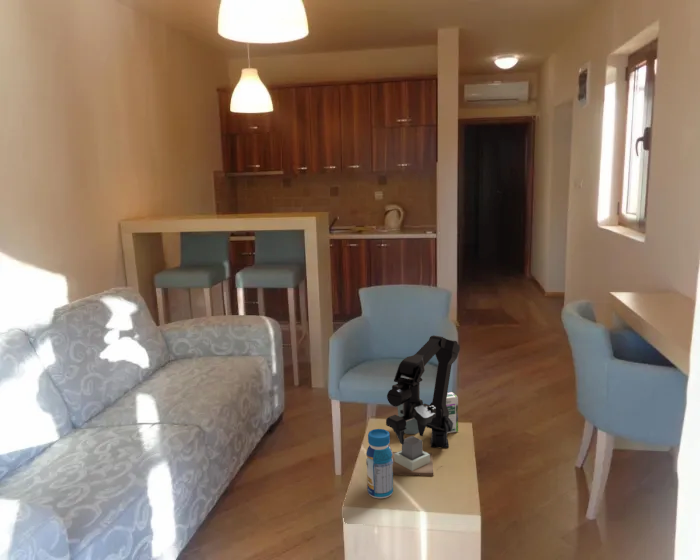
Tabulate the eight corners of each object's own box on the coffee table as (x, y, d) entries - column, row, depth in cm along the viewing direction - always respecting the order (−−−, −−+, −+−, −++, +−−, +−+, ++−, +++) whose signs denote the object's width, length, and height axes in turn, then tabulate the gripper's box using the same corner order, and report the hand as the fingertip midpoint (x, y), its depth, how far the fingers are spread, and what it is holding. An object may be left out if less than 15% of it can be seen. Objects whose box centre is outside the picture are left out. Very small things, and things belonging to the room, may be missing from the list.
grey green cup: (414, 437, 215) (413, 407, 213) (392, 430, 221) (391, 402, 219) (427, 427, 223) (427, 399, 221) (405, 421, 229) (405, 393, 227)
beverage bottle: (385, 502, 172) (384, 441, 169) (362, 495, 177) (360, 435, 173) (398, 489, 179) (397, 430, 176) (375, 482, 184) (373, 425, 180)
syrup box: (444, 434, 217) (444, 398, 214) (438, 427, 222) (438, 393, 220) (458, 432, 218) (458, 396, 216) (451, 425, 224) (451, 391, 221)
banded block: (402, 461, 195) (401, 440, 193) (412, 456, 198) (412, 435, 196) (412, 467, 191) (411, 445, 189) (422, 462, 194) (422, 440, 192)
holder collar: (394, 461, 195) (394, 453, 194) (412, 453, 200) (412, 445, 200) (412, 470, 188) (412, 462, 188) (430, 462, 193) (429, 454, 193)
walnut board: (392, 454, 202) (392, 451, 202) (432, 455, 200) (432, 452, 200) (391, 474, 188) (391, 471, 188) (433, 475, 187) (433, 472, 187)
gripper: (408, 411, 178) (408, 457, 181) (447, 396, 189) (447, 439, 192) (384, 401, 187) (385, 445, 189) (423, 387, 198) (424, 429, 201)
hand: (411, 439), depth 193 cm, fingers open, 9 cm apart
